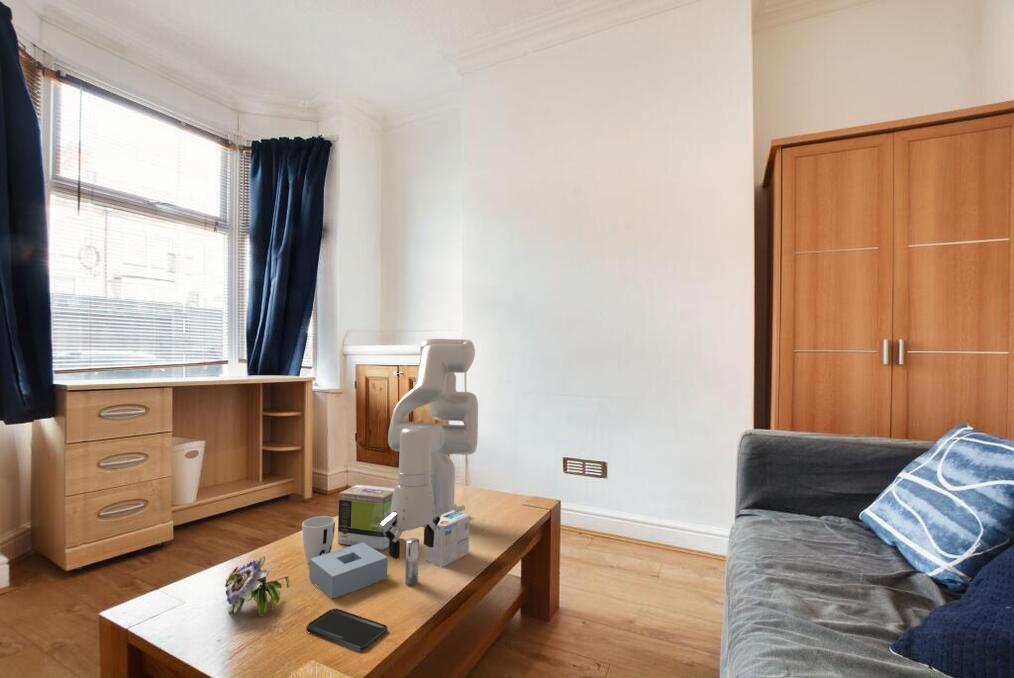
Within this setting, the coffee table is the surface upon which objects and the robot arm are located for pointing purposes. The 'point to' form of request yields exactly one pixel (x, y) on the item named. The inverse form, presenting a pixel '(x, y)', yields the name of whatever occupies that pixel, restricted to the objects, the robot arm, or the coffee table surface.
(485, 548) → the coffee table surface
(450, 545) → the light bulb box
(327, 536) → the cup
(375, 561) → the hole block
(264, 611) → the passion flower
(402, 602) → the coffee table surface
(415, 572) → the pin
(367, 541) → the tea box
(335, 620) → the phone
